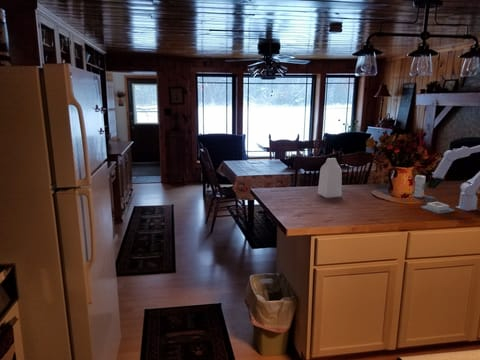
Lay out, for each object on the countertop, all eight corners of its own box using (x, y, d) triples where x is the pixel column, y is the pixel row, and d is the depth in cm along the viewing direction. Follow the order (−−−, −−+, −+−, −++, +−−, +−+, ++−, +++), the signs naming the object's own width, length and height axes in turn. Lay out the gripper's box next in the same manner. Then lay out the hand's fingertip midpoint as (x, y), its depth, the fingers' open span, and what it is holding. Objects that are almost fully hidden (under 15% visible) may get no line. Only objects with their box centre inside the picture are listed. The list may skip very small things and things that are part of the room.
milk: (332, 192, 264) (334, 156, 259) (341, 196, 254) (343, 159, 248) (317, 193, 261) (319, 157, 255) (326, 197, 250) (328, 160, 244)
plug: (429, 203, 237) (429, 195, 236) (434, 205, 234) (435, 197, 232) (424, 204, 236) (425, 196, 235) (429, 205, 232) (430, 198, 231)
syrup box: (414, 194, 257) (416, 174, 254) (423, 196, 254) (426, 175, 250) (412, 196, 253) (414, 176, 250) (421, 198, 249) (423, 177, 246)
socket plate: (435, 205, 232) (436, 200, 231) (454, 211, 220) (455, 205, 220) (420, 208, 227) (421, 202, 226) (439, 214, 215) (439, 208, 215)
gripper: (439, 166, 232) (428, 185, 236) (432, 164, 222) (421, 184, 226) (450, 171, 228) (438, 190, 232) (444, 170, 217) (431, 190, 221)
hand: (430, 188), depth 229 cm, fingers open, 7 cm apart
